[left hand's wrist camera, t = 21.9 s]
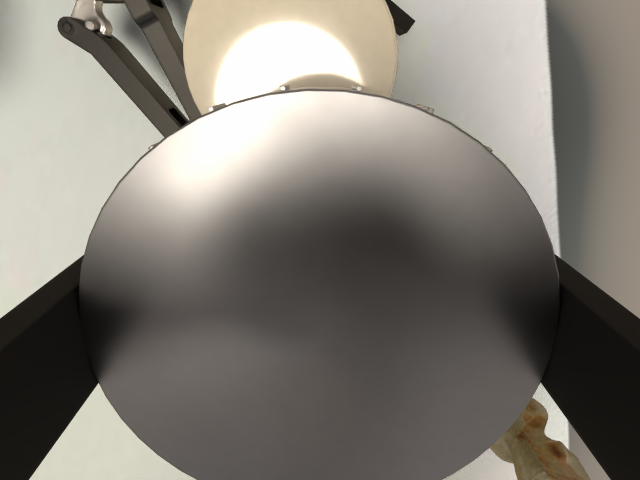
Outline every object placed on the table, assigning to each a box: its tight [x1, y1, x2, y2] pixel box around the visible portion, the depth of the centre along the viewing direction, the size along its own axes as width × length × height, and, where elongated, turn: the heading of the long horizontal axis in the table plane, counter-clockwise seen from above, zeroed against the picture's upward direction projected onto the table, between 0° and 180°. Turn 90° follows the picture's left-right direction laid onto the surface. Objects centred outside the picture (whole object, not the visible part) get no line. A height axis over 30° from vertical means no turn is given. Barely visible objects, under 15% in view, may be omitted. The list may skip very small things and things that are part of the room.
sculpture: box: [490, 398, 590, 480], centre depth 36 cm, size 6×7×15 cm
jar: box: [183, 0, 398, 115], centre depth 26 cm, size 10×10×15 cm
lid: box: [78, 85, 560, 480], centre depth 11 cm, size 11×11×2 cm
